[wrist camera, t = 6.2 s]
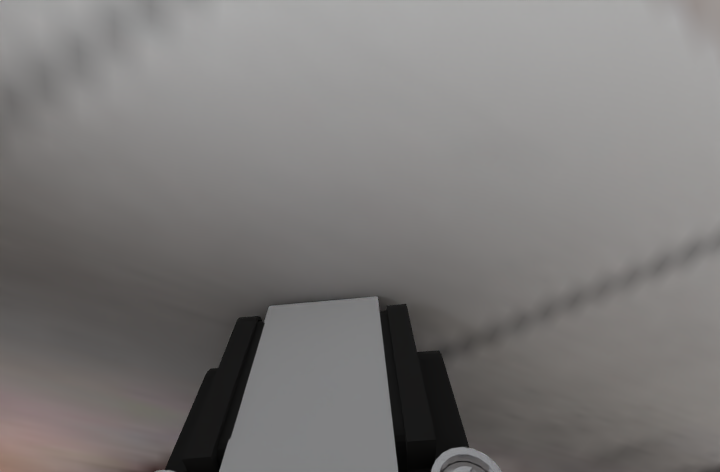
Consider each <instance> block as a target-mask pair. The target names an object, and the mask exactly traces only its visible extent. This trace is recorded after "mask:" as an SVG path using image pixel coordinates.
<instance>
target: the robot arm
mask: <svg viewBox="0 0 720 472" xmlns="http://www.w3.org/2000/svg"><path fill="white" fill-rule="evenodd" d="M380 320H381V329H382V337H383V346H384V355H385V363H386V372H387V380H388V389H389V397H390V406H391V414H392V423H393V431H394V440H395V448H396V457H397V465H398V472H502V471H501V469H500V468H499V467H498V465H497V464H496V463H495V462H494V461H493V460H492V459H491V458H489V457H488V456H487V455H486V454H484V453H482V452H480V451H477V450H475V449H472V448H469V445H468V442H467V438H466V435H465V432H464V428H463V425H462V422H461V418H460V415H459V412H458V408H457V405H456V402H455V398H454V395H453V392H452V388H451V385H450V382H449V378H448V375H447V372H446V368H445V365H444V362H443V358H442V355H441V353H440V351H426V352H417V351H416V346H415V342H414V337H413V333H412V328H411V324H410V319H409V315H408V310H407V306H406V304H402V305H390V306H387V311H381V312H380ZM264 325H265V323H264V321H262V319H261V317H260V316H255V317H242V318H239V319H238V320H237V322H236V325H235V327H234V330H233V332H232V335H231V337H230V340H229V342H228V345H227V347H226V350H225V352H224V355H223V357H222V360H221V362H220V365H219V367H218V368H213V369H210V370H209V371H208V372H207V374H206V375H205V378H204V380H203V382H202V384H201V387H200V389H199V391H198V394H197V396H196V398H195V401H194V403H193V405H192V408H191V410H190V412H189V415H188V417H187V419H186V422H185V424H184V426H183V429H182V431H181V433H180V436H179V438H178V440H177V443H176V445H175V447H174V450H173V452H172V454H171V457H170V459H169V461H168V464H167V466H166V468H165V470H159V471H156V472H219V470H220V467H221V464H222V460H223V457H224V454H225V450H226V447H227V444H228V440H229V439H231V436H232V432H233V429H234V425H235V422H236V419H237V415H238V412H239V409H240V405H241V402H242V399H243V395H244V392H245V388H246V385H247V382H248V378H249V375H250V372H251V368H252V365H253V362H254V358H255V355H256V351H257V348H258V345H259V341H260V338H261V335H262V331H263V328H264Z"/></svg>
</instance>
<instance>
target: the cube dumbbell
mask: <svg viewBox="0 0 720 472" xmlns="http://www.w3.org/2000/svg"><path fill="white" fill-rule="evenodd" d="M264 323H265V325H264V328H263V331H262V335H261V338H260V341H259V345H258V348H257V351H256V355H255V358H254V362H253V365H252V368H251V372H250V375H249V378H248V382H247V385H246V388H245V392H244V395H243V399H242V402H241V405H240V409H239V412H238V415H237V419H236V422H235V425H234V429H233V432H232V436H231V439H229V440H228V444H227V447H226V450H225V454H224V457H223V460H222V464H221V467H220V470H219V472H398V465H397V457H396V448H395V440H394V431H393V423H392V414H391V406H390V397H389V389H388V380H387V372H386V363H385V355H384V346H383V337H382V329H381V320H380V312H379V303H378V296H376V297H364V298H353V299H342V300H330V301H319V302H308V303H296V304H285V305H274V306H269V308H268V311H267V314H266V318H265V321H264Z"/></svg>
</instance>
